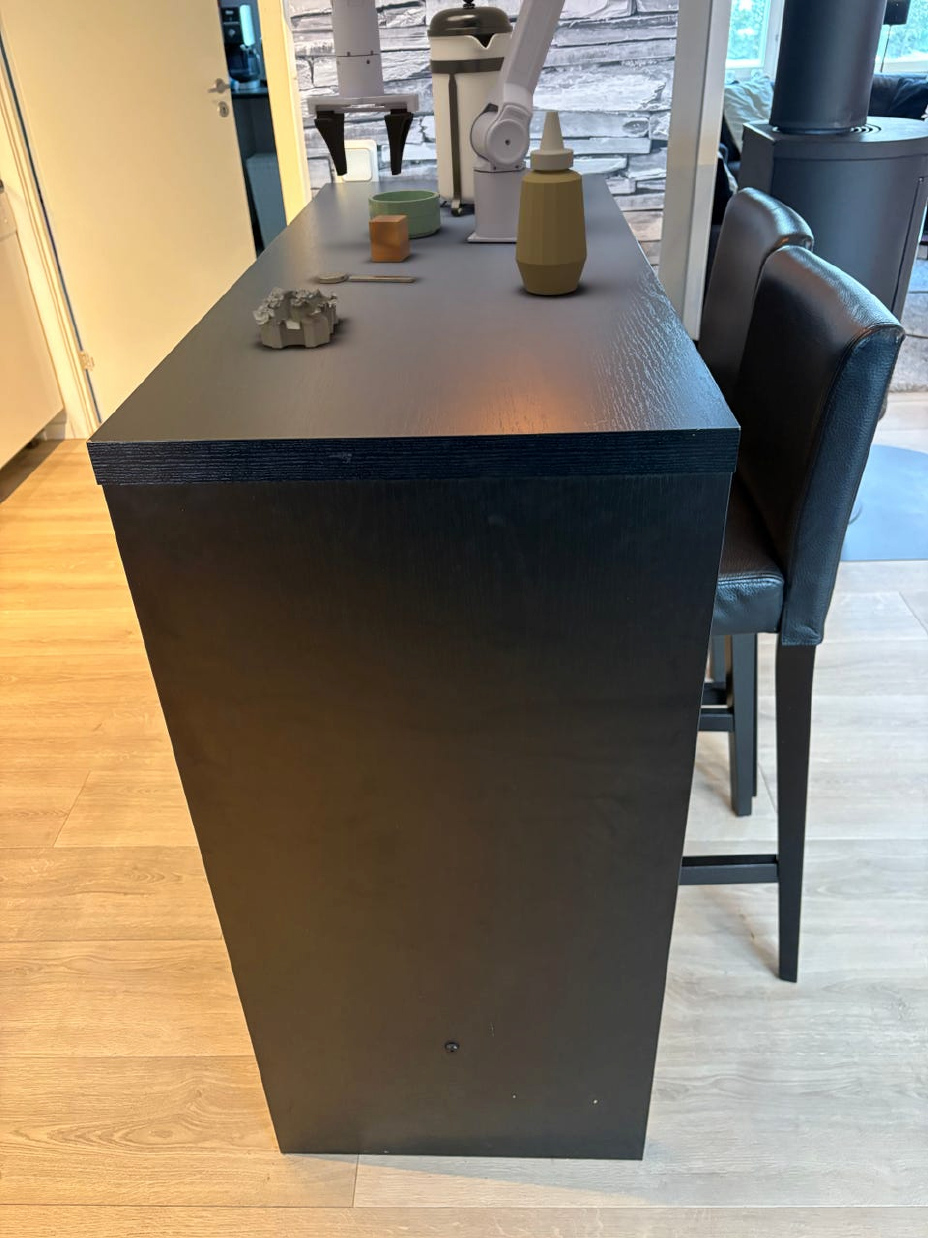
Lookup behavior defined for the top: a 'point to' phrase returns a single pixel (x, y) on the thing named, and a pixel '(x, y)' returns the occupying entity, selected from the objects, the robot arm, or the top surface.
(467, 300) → the top surface
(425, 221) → the bowl
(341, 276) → the spoon
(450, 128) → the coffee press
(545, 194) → the squeeze bottle
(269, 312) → the grey succulent planter
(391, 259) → the block
